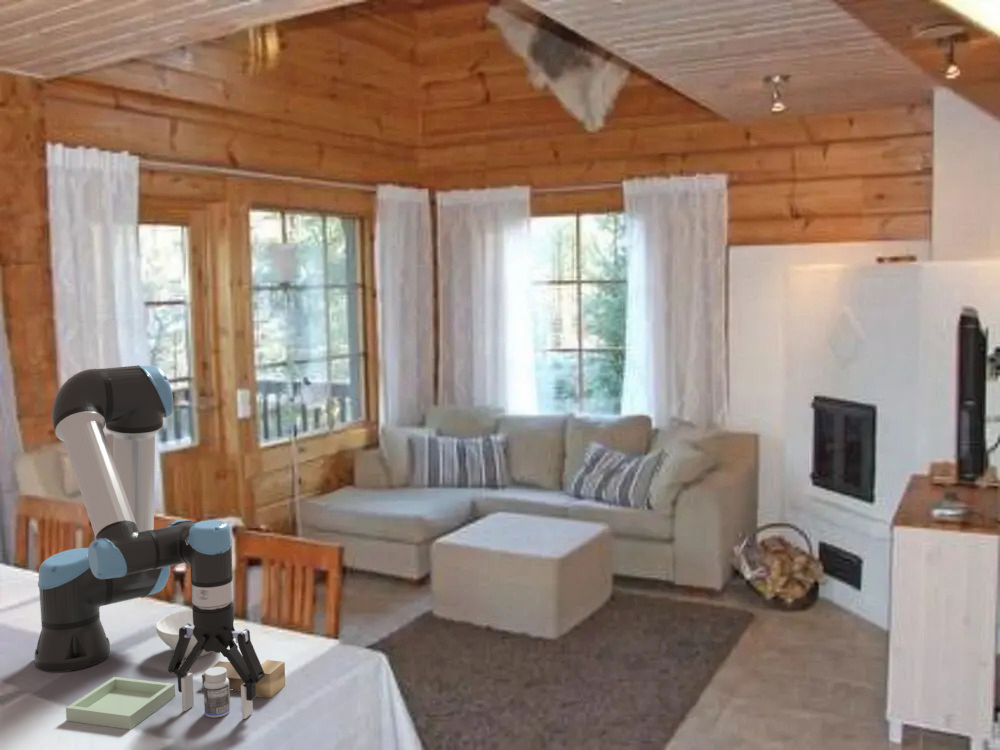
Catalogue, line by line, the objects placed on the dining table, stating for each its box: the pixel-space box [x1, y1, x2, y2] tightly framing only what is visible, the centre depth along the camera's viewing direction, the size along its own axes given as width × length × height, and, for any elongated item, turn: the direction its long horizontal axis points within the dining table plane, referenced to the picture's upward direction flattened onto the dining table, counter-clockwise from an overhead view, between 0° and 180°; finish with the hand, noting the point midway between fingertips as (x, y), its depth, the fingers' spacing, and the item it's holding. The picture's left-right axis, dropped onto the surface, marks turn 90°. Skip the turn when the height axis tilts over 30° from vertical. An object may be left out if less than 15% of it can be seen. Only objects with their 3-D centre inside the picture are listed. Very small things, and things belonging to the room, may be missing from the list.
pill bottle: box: [203, 666, 231, 719], centre depth 179 cm, size 5×5×8 cm
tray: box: [65, 676, 176, 730], centre depth 181 cm, size 14×14×3 cm
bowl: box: [155, 609, 212, 659], centre depth 208 cm, size 16×16×7 cm
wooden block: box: [255, 659, 286, 699], centre depth 188 cm, size 4×6×5 cm, turn 165°
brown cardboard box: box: [201, 660, 244, 691], centre depth 192 cm, size 12×7×3 cm, turn 79°
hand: (217, 711), depth 179 cm, fingers open, 12 cm apart
